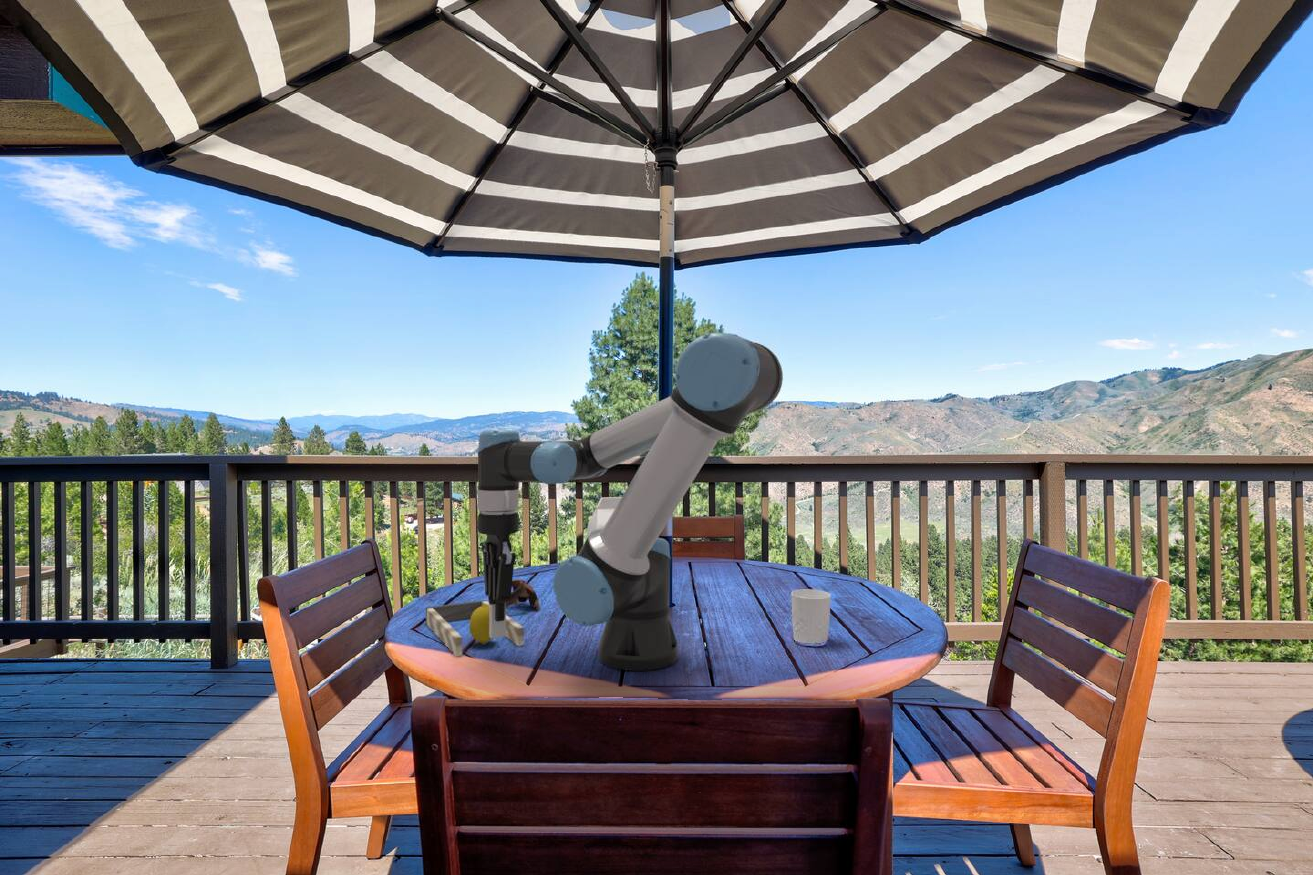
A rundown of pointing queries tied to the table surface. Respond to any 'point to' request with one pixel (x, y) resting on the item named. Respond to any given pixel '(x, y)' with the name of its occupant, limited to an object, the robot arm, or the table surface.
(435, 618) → the channel
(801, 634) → the white cup
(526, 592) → the brown open ring
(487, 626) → the lemon
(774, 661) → the table surface
